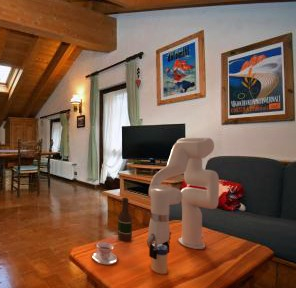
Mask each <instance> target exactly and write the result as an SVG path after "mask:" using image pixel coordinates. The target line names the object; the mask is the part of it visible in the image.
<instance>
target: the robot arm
mask: <svg viewBox="0 0 296 288" xmlns="http://www.w3.org/2000/svg"><path fill="white" fill-rule="evenodd" d="M214 149H215V142H214V140H213V139H212V138H210V137H181V138H178V139H177V140H176V142H175V143H174V144H173V145H172V149H171V151H170V155H169V158H168V160H167V164H166V166H164V167H163V168H161V169H160V170H159V171H157V172H156V173H155V174H154V175H153V177H152V179H151V181H150V184H149V187H148V196H149V198H150V220H149V224H148V232H147V233H148V234H147V239H146V243H147V247H148V250H149V253H148V256H149V257H150V259H151V258H153V259H157V250H156V248H157V245H160V244H164V245H166V246H167V247H168V254H170V244H171V241H170V240H171V236H172V232H171V230H170V206H171V205H177V204H180V203H181V237H179V238H178V243H179V244H180V245H182V246H184V247H185V248H189V249H193V250H203V249H205V248H206V244H205V243H204V242H203V239H205V235H204V234H203V213H202V211H201V209H200V208H204V209H209V210H215V209H217V208H218V206H219V200H220V199H219V196H220V178H219V174H218V172H217V171H215V170H211V169H204V168H203V159H205V158H207V157H208V156H210V155H211V154H212V153H213V151H214ZM180 175H183V180H184V183H185V184H186V185H188V186H189V187H187V186H186V187H183V188H182V189H181V190H180V189H179V188H177V187H174V186H173V187H172V186H168V185H161V184H162V183H163V182H164V181H166V180H167V179H170V178H174V177H177V176H180ZM190 186H193V187H190ZM194 186H195V187H194ZM196 187H201V188H196ZM203 188H205V189H203ZM152 244H155V245H154V246H153V245H152Z"/></svg>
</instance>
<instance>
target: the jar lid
mask: <svg viewBox="0 0 296 288" xmlns="http://www.w3.org/2000/svg"><path fill="white" fill-rule="evenodd" d="M152 245H153V246H154V245H155V244H152ZM156 250H157V254H159V255H166V254H169V253H168V247H167V246H166V245H164V244H160V245H157V248H156Z"/></svg>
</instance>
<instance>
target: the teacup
mask: <svg viewBox="0 0 296 288" xmlns="http://www.w3.org/2000/svg"><path fill="white" fill-rule="evenodd" d="M114 248H115V246H114V244H112V243H111V242H107V241H99V242H97V243H96V244H94V249H95V250H96V251H95V252H94V253H92V257H91V258H92V260H93V261H94V262H96V263H97V264H101V265H108V266H109V265H114V264H116V263H117V261H118V256H117V255H116V254H114V253H113V252H112V251H113V249H114Z"/></svg>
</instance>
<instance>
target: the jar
mask: <svg viewBox="0 0 296 288" xmlns="http://www.w3.org/2000/svg"><path fill="white" fill-rule="evenodd" d="M168 254H169V253H168ZM168 254H166V255H159V254H157V259H153V258H151V257H150V269H151V270H152V271H153V272H155V273H157V274H160V275H164V274H167V273H168V258H169V257H168Z"/></svg>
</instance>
